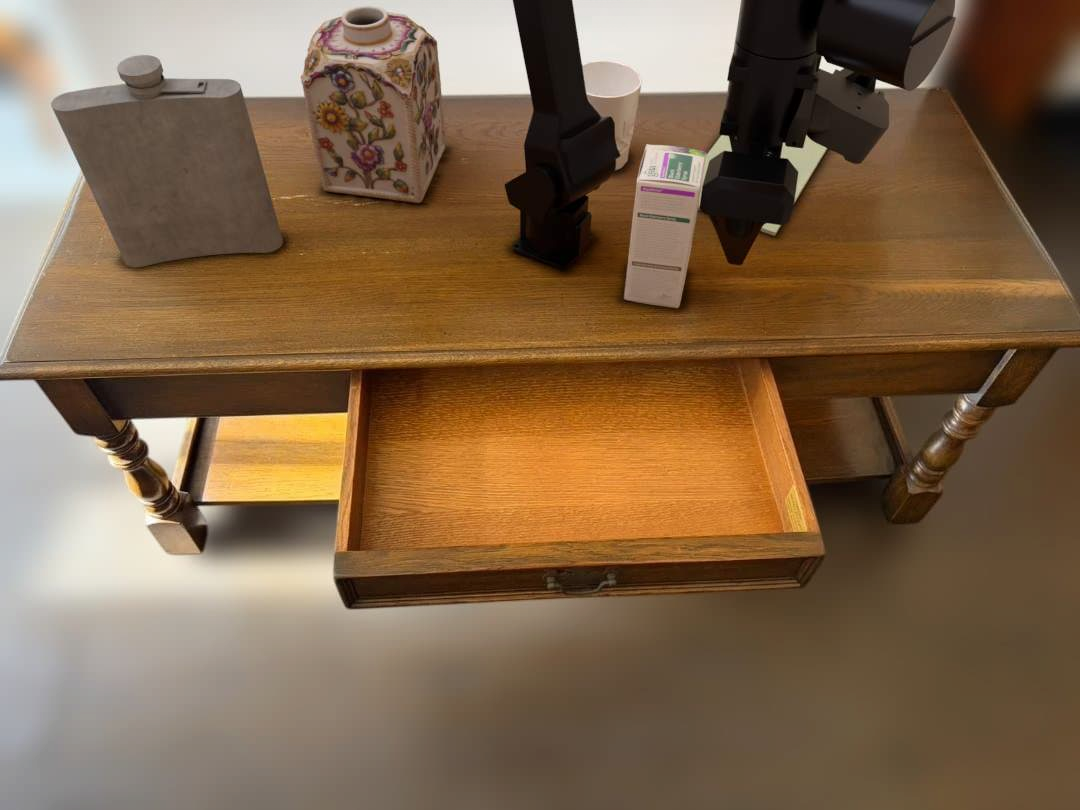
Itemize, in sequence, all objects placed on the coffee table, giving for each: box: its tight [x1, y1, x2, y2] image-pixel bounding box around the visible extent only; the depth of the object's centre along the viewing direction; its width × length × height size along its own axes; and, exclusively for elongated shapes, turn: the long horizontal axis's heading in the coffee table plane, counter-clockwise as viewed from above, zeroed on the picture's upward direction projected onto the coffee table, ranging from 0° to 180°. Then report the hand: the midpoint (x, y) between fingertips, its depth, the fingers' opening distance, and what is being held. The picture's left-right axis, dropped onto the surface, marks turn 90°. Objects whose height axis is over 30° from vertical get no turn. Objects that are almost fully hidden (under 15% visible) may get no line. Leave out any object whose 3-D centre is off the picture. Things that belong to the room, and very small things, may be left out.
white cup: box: [582, 59, 643, 171], centre depth 95 cm, size 8×8×10 cm
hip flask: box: [50, 54, 284, 268], centre depth 79 cm, size 16×4×20 cm, turn 102°
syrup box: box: [623, 143, 707, 309], centre depth 79 cm, size 6×6×14 cm
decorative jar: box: [300, 5, 446, 204], centre depth 89 cm, size 12×12×18 cm
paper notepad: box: [698, 135, 829, 237], centre depth 98 cm, size 12×24×1 cm, turn 151°
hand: (741, 229), depth 68 cm, fingers open, 9 cm apart
